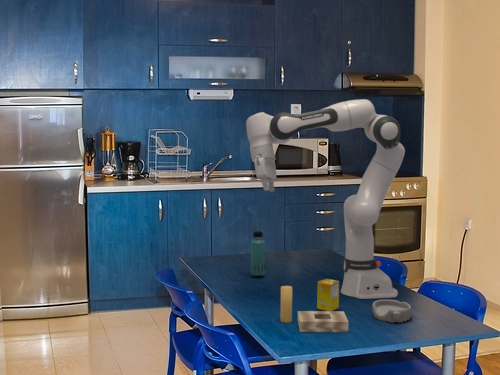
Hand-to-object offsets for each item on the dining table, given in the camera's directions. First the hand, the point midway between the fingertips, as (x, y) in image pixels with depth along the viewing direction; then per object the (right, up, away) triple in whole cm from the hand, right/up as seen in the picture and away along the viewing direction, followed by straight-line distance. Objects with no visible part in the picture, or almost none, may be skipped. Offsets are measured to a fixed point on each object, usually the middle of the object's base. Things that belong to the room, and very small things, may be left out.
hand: (269, 190), depth 272 cm
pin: (+5, -45, -22) cm, 51 cm away
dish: (+43, -45, -17) cm, 65 cm away
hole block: (+17, -46, -28) cm, 56 cm away
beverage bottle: (-4, -38, +40) cm, 55 cm away
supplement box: (+21, -44, -9) cm, 50 cm away
